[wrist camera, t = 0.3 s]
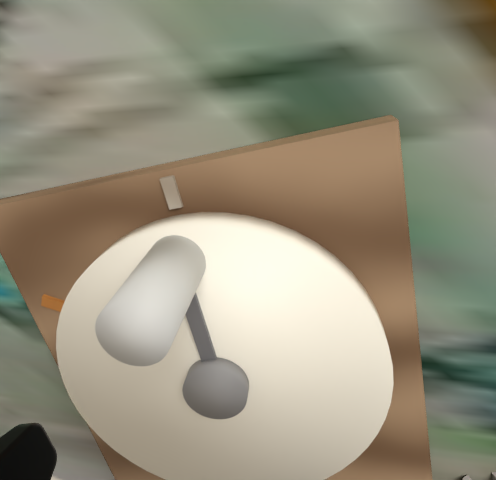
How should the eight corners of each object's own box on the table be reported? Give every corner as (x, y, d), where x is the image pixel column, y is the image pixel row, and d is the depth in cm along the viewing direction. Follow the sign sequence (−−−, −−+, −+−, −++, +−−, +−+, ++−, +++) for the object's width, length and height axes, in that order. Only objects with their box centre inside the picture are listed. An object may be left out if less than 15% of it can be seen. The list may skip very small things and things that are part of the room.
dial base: (425, 458, 24) (433, 485, 23) (132, 473, 28) (122, 498, 27) (391, 115, 17) (399, 120, 16) (-1, 199, 21) (-25, 210, 19)
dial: (401, 461, 23) (436, 609, 17) (132, 475, 26) (81, 603, 20) (365, 179, 17) (398, 251, 11) (21, 244, 20) (-102, 326, 14)
